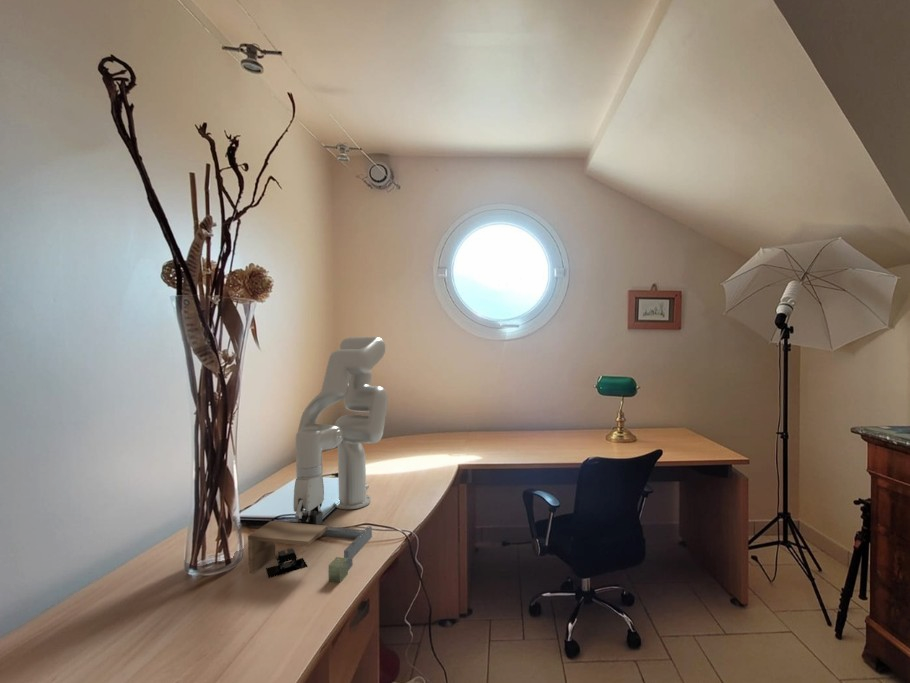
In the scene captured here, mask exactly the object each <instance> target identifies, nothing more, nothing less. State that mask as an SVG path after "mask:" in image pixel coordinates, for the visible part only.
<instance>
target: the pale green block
mask: <svg viewBox="0 0 910 683" xmlns="http://www.w3.org/2000/svg"><path fill="white" fill-rule="evenodd" d="M353 564H354V563H353V558H352V559H347V558H344V557H339V556H336V557H335V558H334V559H333V560H332V561H331V562H329V564H328V569H327V570H328V583H338V584H340V583H342V581H344V579H345V578H346V577H347V576H348V573H349V572H348V571H349V570H350V569H351V568H352V567H353Z"/></svg>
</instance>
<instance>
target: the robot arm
mask: <svg viewBox="0 0 910 683" xmlns="http://www.w3.org/2000/svg"><path fill="white" fill-rule="evenodd" d="M385 353H386V343H385V341H384V340H383V339H382V337H378V336H353V337H352V336H351V337H347V338H344V339H343V340H341V342H340V345H339V349H337V350H334V351H332V352H331V353H330V355H329V358H328V362H327V365H326V369H325V375H324V378H323V382H322V385H321V386H322V387H321V390H320V392H319V393H318V394H317V395H316V396H315V397H314V398H313V399H312V400H311V401H310V402H309V403H308V405H307V406H306V407H305V408H304V411H302V415H301V417H300V421H299V425H298V428H297V429H298V430H297V433H296V434H295V462H296V467H295V472H296V473H295V474H296V475H295V476H296V478H295V480H294V487H293V512H295V514H294V516H295V518H296V519H297V520H298V519H299V520H300V522H301V524H311V521H310V512H311V511H322V510H321V509H322V508H321V507H322V504H323V503H324V500H325V497H324V496H325V487H324V485H325V484H324V476H323V451H327V450H332V449H336V448H337V467H338V468H337V471H338V474H337V475H338V476H337V477H338V479H337V480H338V498H339V500H340V504H339V505H338V506H337V505H336V506H335V508H337V509H341V510H355V509H361V508H364V507H366V506H368V505H369V504H370V503H371V497H370V496H369V495H368V494H367V490H368V489H369V488H370V485H369V484H367V481H366V480H367V479H366V478H367V475H366V474H367V473H366V470H367V469H366V468H367V467H366V452H365V449H364V446H363V444H377V443H379V442H380V441H381V439H382V438H383V435H384V430H385V423H386V417H387V410H388V394H387V391H386V389H385V388H384V387H382V386H380V385H371V383H372V382H371V381H372V369H373V368H374V367H375V366H376V365H377V364H378V363H379V362H380V361H381V360H382V359H383V357H384V355H385ZM341 401H343V406H344V408H345V409H346V410H348V411H350V412H357V413H358V412H359V413H361V412H362V413H368V415H366V414H365V415H364V414H363V415H362V414H344V415H342V416H340V417H338V418H336V419H337V420H336V421H335V423H334V424H325V423H324V424H323V423H317V420H318V418H319V416H320V415H321V414H322V412H323V411H325V409H327V408H328V407H331V406H332V405H334V404H336V403H338V402H341ZM304 513H307V516H305V515H304Z"/></svg>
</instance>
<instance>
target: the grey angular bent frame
mask: <svg viewBox="0 0 910 683" xmlns="http://www.w3.org/2000/svg"><path fill="white" fill-rule="evenodd" d="M304 515H305V516H307V513H304ZM297 520H298V521H297V523H301V522H300V520H299V519H298V518H297ZM310 521H311V524H312V525H323V511H322V510H321V511H311V512H310ZM372 529H373V527H372V526H367V527H366V528H365V529H360V528H359V529H357V528H356V529H355V528H345V527H335V526H327V530H326V531H325V532H324V533H323V534H322V535H321V536H327V537H335V538H337V537H338V538H345V539H346V538H347V539H354V540H353V541H352V542H351V543H350V544H349V545H348V546H347V547H346V548H345V549H344V550H343V558H347V559H352V560H353V558H354V557H355V556H356V555H357V554H358V553H359V552H360V550H361V549H362V548H363V547H364V546H365V545H366V544H367V543H368V542H369V541H370V539H371V538H372V537H373V532H372V531H373V530H372Z"/></svg>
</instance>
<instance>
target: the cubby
mask: <svg viewBox="0 0 910 683" xmlns="http://www.w3.org/2000/svg"><path fill="white" fill-rule="evenodd" d="M327 527H328V525H312V524H301V523H298V522H289V521H277V520H270V521H269V522H267V523H265V524H264V525H262V526H261V527H259V528H258V529H256V530H255V531H253V532H251V533H250V534H248V535H247V546H248V548H247V549H248V550H247V551H248V574H255V573H256V572H257V571H258V570H259V569H261V568H262V567H264V566H265V565H266V564H267V563H268V562H270V561H271V560H273V559H274V557H277V555H276V544H278V543H279V544H287V545H296V546H297V545H298V546H307V547H309V546H310V545H311V544H312V543H314V542H315V541H316V540H317V539H318V538H319V537H321V536H323V535H322V534H323V533H324V532H325V531H326V530H327Z"/></svg>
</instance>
